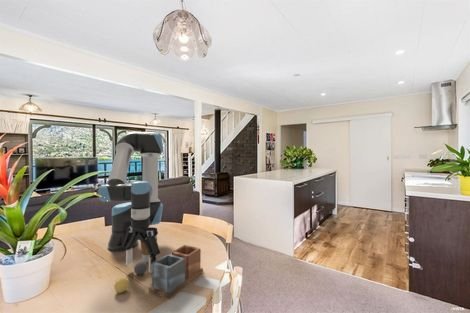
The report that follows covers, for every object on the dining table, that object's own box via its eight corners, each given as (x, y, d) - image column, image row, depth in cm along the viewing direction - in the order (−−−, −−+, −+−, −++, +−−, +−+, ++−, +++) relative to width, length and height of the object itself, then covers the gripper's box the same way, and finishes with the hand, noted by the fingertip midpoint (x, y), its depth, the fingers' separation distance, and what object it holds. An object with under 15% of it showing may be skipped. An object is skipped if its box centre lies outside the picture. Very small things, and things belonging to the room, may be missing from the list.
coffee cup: (146, 265, 104) (147, 233, 104) (135, 260, 109) (135, 229, 109) (161, 258, 111) (161, 228, 111) (150, 254, 116) (150, 225, 116)
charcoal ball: (131, 275, 96) (131, 263, 96) (141, 269, 100) (141, 258, 100) (139, 278, 94) (139, 266, 94) (149, 272, 98) (149, 261, 98)
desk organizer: (148, 291, 85) (148, 263, 84) (184, 266, 103) (184, 243, 103) (169, 299, 80) (169, 269, 80) (203, 271, 99) (203, 248, 99)
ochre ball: (111, 293, 83) (111, 279, 83) (123, 286, 88) (123, 273, 88) (120, 297, 81) (120, 283, 81) (132, 289, 86) (132, 276, 86)
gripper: (113, 216, 99) (113, 265, 99) (155, 223, 88) (155, 278, 88) (128, 212, 106) (127, 258, 105) (169, 219, 95) (168, 270, 94)
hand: (140, 267), depth 97 cm, fingers open, 13 cm apart
